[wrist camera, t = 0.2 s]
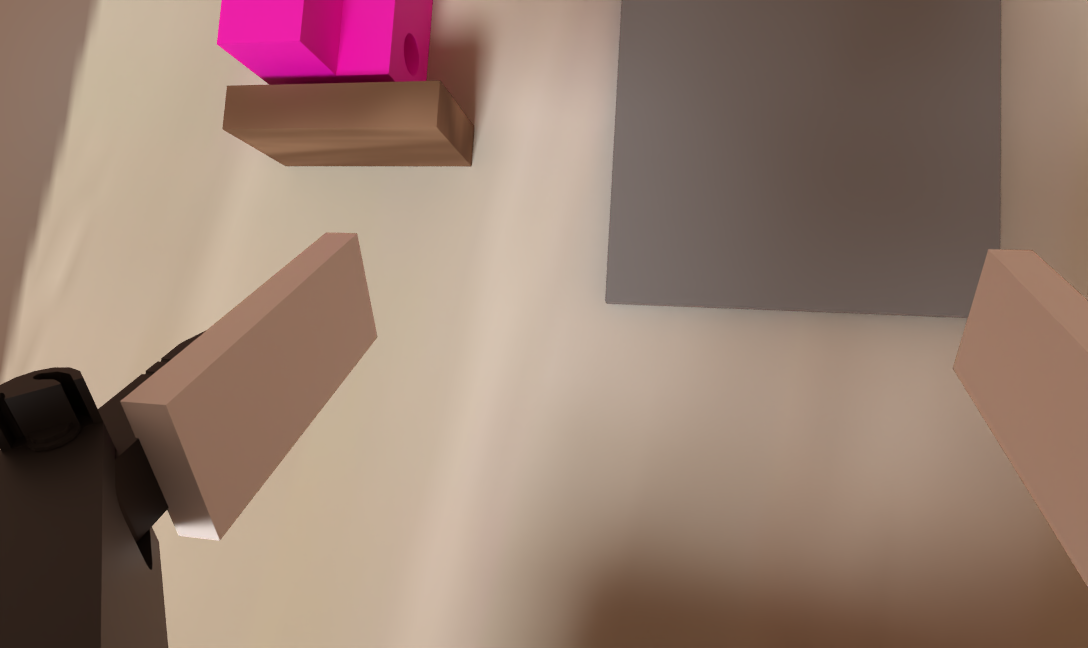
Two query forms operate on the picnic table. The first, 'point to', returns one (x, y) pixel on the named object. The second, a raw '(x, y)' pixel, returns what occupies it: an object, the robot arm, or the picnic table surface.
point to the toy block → (328, 39)
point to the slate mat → (806, 155)
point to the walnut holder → (351, 123)
